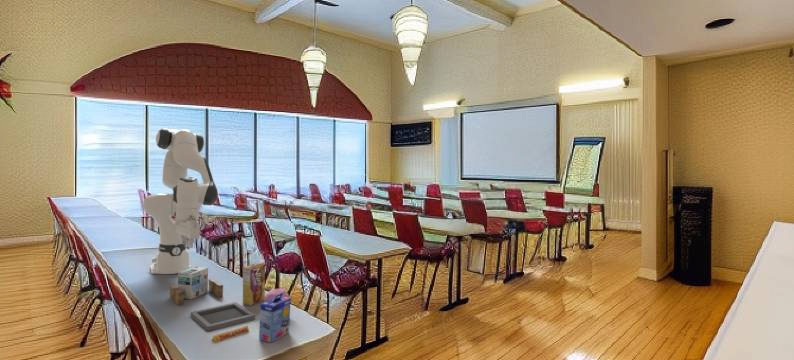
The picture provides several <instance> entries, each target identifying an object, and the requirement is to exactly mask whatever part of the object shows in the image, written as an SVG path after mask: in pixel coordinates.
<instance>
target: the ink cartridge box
mask: <svg viewBox="0 0 794 360" xmlns="http://www.w3.org/2000/svg"><path fill="white" fill-rule="evenodd" d="M282 295H283V293H281V294H279V295H277V296H276V297H274V298H272V299H270V300H267V301H265V302H264V301H263V302H262V303H260V305H259V306H260V308H259V309H260V311H259V312H260V314H259V330H258V331H259V333H258V340H261V341H265V342H267V343H270V344H271V343H273V342H275V341H277V340H278V339H280V338H282V337H283V336H285V335H287V334H289V331H290V320H291V319H290V318H291V317H290V314H291V303H292V302H291V299H292V298H291V297H289V298H288V297H284V296H282ZM286 333H287V334H286Z"/></svg>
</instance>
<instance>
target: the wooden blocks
mask: <svg viewBox="0 0 794 360" xmlns="http://www.w3.org/2000/svg"><path fill="white" fill-rule="evenodd" d="M209 291H210V292H211V294H213V293H214V296H216V295H217V296H216V297H217V298H223V296H224V284H222V283H221V282H219V281H217V280H216V279H214V278H208V292H209ZM169 298H170V299H171V300H172V301H173V302H174V303H176V305H177V306H183V305H184V298H183V292H182V291H181V290H180V289H178V286H177V285H174V284H171V285H169Z"/></svg>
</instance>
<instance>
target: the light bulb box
mask: <svg viewBox="0 0 794 360" xmlns="http://www.w3.org/2000/svg"><path fill="white" fill-rule="evenodd" d="M177 274H178V276H177V278H178V282H177V285H178V286H177V288H178V289H180V290H181V291H182V292H183V299H188V300H193V299H195V298H198V297H200V296H202V295H204V294H206V293H208V292H209V267H202V266H198V265H197V266H192V268H190V269H187V270H184V271H181V272H178V273H177Z"/></svg>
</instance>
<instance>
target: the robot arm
mask: <svg viewBox="0 0 794 360" xmlns="http://www.w3.org/2000/svg"><path fill="white" fill-rule="evenodd" d="M155 142H156V146H157V147H158V148H159V149H162V150H167V151H166V153H165V157H164V162H163V167H162V181H161V182H162V184H163V185H164V186H165V187H166V188H169V189H170V190H172V193H156V194H151V195H148V196H147V197H145V199H144V201H143V203H142V205H143V206H142V207H143V211H144V212H145V213H146V215H148V216H150V217H151V218H152V219H154V221H155V222H156V224H157V225H158V228H159V238H160V239H159V242H160V243H159V245H158V252H157V254H155V256H154V257H152V258H151V263H152V264H150V266H149V268H150V274H151V275H157V274H159V275H174V274H178V272H181V271H184V270H187V269H190V268H192V267H193V265H191V264H190V253H189V251H187V248H189V249H192V248H193V247H194V243H195V240H197V239H199V238H200V237H201V236H200V221H198V219H200V211H201V209H202V206H212V205H213V204H215V203H216V202H217V201H218V199H219V191H218V189H217V187H216V184H215V181H214V178H213V175H212V171H211V168H210V166H209V163H208V160H207V159H206V157H204V156H202V154H201V152H202V151H203V149H204V147H205V140H204V137H203V135H201V134H200V133H194V132H192V131H191V130H188V129H181V130H180V129H169V128H161V129H159V130H158V132H157V133H156V136H155ZM188 169H189V170H192V171H195V172H197V173H199V174H200V175H201V176H200V177H201V179H202V183H199V180H198V178H196V177H192V176H188ZM172 217H174V219H173V218H172Z"/></svg>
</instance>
